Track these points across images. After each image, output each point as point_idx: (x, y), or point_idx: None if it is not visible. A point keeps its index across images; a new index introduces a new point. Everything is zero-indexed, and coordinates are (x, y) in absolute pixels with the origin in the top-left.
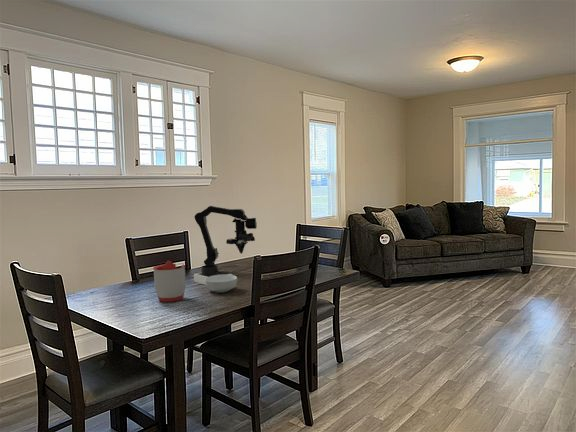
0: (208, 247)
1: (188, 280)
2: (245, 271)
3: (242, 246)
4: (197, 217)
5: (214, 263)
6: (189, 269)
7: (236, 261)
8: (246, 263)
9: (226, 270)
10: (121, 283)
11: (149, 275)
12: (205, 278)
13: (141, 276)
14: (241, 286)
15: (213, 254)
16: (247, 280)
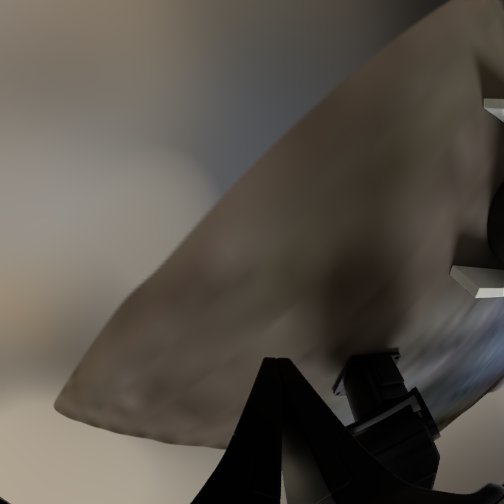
0: (433, 489)
1: (497, 310)
2: (221, 231)
3: (277, 483)
4: None
5: (386, 398)
6: None
7: (108, 423)
8: (84, 379)
9: None
10: (499, 388)
11: None
12: None
13: (443, 427)
14: (492, 12)
15: (432, 438)
16: (428, 20)
